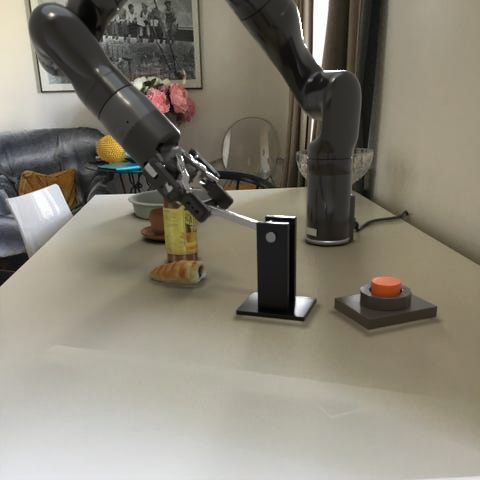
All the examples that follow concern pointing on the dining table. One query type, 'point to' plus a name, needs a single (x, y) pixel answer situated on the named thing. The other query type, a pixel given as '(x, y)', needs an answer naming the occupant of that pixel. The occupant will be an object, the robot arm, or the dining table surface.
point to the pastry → (180, 272)
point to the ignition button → (385, 286)
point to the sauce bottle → (179, 232)
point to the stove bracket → (277, 273)
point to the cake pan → (155, 201)
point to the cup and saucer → (155, 225)
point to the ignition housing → (384, 308)
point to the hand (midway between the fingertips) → (218, 212)
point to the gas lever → (231, 215)
